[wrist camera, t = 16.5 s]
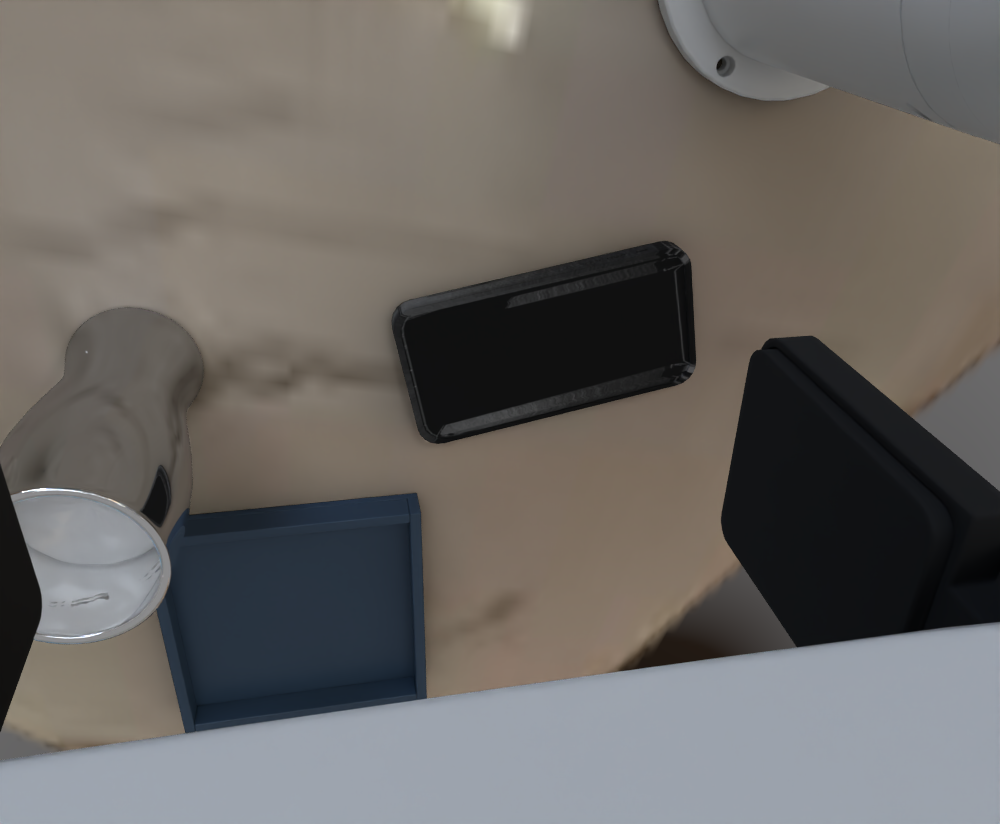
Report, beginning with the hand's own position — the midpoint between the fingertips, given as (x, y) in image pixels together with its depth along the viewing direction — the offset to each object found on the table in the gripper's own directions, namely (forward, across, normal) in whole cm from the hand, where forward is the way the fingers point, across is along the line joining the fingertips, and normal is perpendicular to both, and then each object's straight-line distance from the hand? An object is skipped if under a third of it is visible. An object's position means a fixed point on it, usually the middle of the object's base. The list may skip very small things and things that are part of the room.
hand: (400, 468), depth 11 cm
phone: (+30, -10, +13) cm, 34 cm away
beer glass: (+31, +10, +13) cm, 35 cm away
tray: (+30, +4, +29) cm, 42 cm away
